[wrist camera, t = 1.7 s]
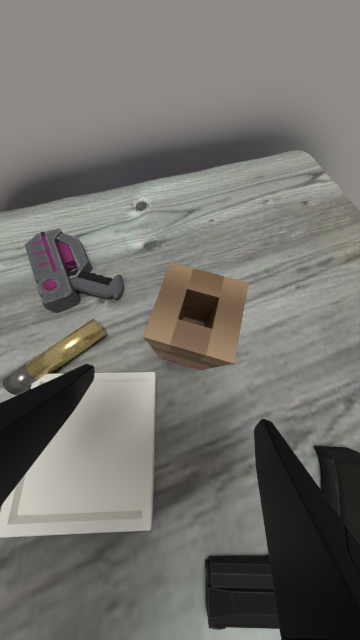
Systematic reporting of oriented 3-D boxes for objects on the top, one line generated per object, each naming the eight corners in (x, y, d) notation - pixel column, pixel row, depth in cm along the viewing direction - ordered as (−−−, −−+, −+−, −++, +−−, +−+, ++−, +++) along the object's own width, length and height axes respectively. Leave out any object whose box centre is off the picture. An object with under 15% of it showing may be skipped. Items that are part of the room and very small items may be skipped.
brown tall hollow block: (200, 370, 20) (234, 364, 9) (160, 358, 20) (141, 337, 9) (210, 331, 22) (249, 282, 10) (172, 320, 22) (169, 261, 10)
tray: (152, 516, 16) (150, 530, 14) (11, 522, 15) (-6, 537, 14) (156, 372, 20) (155, 372, 18) (44, 374, 19) (34, 374, 18)
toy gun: (99, 232, 28) (33, 250, 25) (92, 214, 25) (15, 231, 22) (131, 299, 24) (57, 328, 21) (127, 286, 21) (40, 318, 18)
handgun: (202, 450, 16) (209, 651, 12) (375, 452, 16) (447, 660, 12) (199, 441, 19) (205, 605, 15) (349, 443, 19) (400, 611, 14)
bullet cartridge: (28, 393, 19) (8, 396, 16) (19, 376, 19) (-2, 376, 17) (108, 336, 21) (100, 331, 19) (98, 322, 21) (89, 316, 19)
